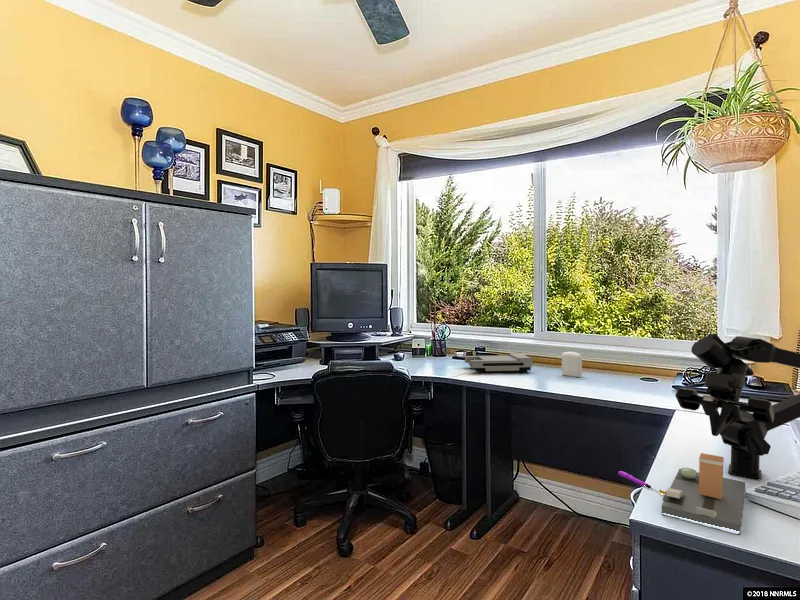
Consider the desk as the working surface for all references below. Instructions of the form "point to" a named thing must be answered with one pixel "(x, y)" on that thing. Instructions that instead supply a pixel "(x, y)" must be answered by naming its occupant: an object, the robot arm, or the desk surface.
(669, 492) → the block
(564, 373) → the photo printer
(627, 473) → the purple screwdriver
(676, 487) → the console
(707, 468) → the fader knob
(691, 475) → the push button
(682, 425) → the desk surface
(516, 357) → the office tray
